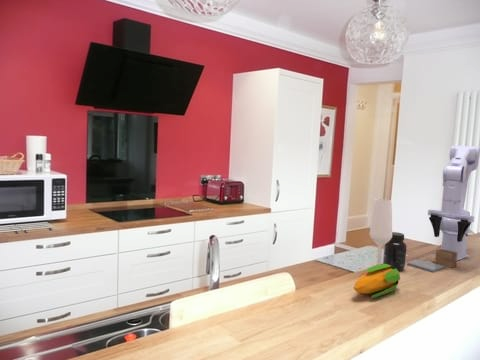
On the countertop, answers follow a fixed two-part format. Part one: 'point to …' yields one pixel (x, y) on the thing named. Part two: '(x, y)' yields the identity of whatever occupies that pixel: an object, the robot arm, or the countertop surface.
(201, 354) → the countertop surface
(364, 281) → the corn
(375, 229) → the champagne flute
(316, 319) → the countertop surface
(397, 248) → the supplement bottle
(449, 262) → the walnut cube
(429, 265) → the slate coaster
